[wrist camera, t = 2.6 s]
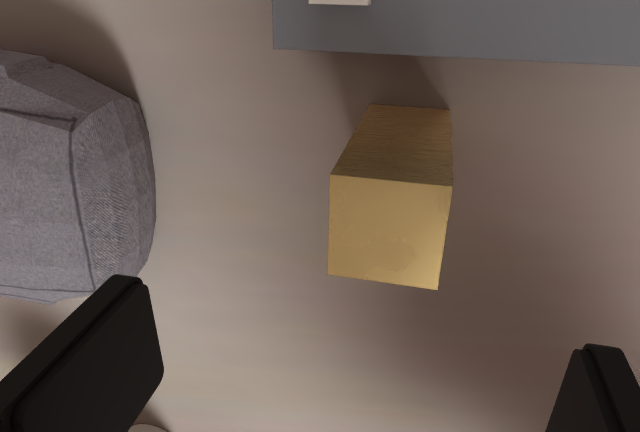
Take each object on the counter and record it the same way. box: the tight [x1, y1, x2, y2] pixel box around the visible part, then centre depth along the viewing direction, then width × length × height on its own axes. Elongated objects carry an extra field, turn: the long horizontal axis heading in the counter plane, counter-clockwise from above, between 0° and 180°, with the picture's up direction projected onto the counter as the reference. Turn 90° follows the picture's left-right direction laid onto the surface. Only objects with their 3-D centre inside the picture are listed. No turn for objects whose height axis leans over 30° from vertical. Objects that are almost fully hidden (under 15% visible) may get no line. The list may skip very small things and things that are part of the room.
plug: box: [328, 104, 453, 290], centre depth 21 cm, size 4×4×10 cm
